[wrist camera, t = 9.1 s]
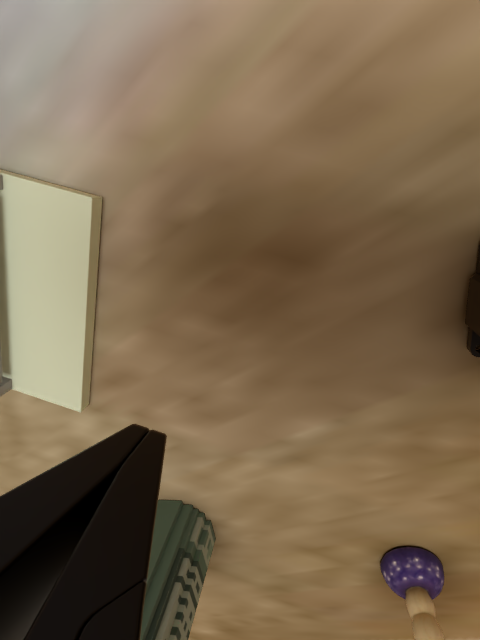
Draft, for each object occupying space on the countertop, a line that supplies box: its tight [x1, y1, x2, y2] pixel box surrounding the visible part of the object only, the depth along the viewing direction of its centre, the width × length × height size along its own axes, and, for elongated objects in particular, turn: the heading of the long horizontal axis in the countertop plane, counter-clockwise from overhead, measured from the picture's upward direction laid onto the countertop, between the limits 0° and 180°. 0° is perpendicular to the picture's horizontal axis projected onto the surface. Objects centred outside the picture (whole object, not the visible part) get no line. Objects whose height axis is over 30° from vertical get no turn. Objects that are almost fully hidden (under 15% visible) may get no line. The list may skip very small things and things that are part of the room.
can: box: [140, 500, 216, 640], centre depth 22 cm, size 6×6×15 cm
